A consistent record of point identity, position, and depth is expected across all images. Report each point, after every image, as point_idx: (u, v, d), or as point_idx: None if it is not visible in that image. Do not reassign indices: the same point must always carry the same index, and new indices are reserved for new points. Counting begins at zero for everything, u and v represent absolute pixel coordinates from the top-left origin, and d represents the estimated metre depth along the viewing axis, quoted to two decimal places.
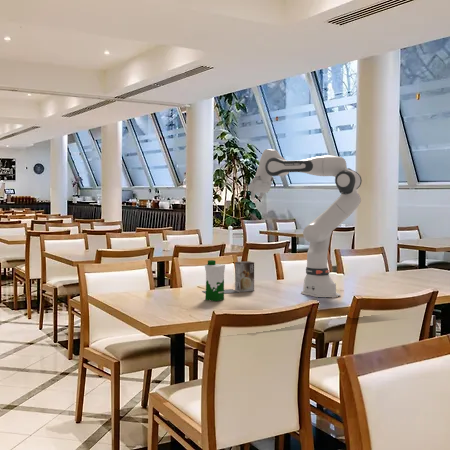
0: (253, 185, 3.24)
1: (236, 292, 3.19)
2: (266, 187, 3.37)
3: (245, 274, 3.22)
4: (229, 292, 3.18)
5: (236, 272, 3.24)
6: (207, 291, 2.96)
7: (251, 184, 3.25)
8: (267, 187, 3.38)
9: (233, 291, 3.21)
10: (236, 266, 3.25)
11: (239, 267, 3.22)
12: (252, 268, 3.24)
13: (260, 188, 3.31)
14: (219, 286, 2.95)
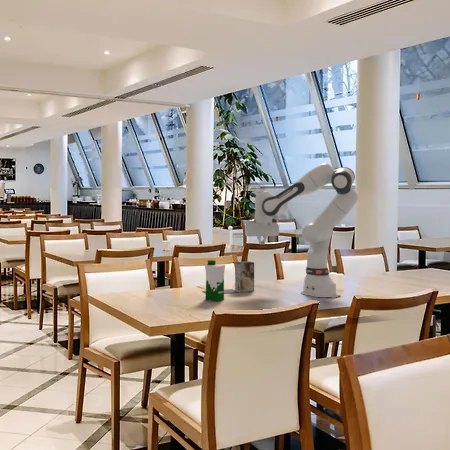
0: (246, 229, 3.24)
1: (236, 292, 3.19)
2: (271, 230, 3.29)
3: (245, 274, 3.22)
4: (229, 292, 3.18)
5: (236, 272, 3.24)
6: (207, 291, 2.96)
7: (245, 229, 3.25)
8: (273, 230, 3.29)
9: (233, 291, 3.21)
10: (236, 266, 3.25)
11: (239, 267, 3.22)
12: (252, 268, 3.24)
13: (260, 231, 3.26)
14: (219, 286, 2.95)
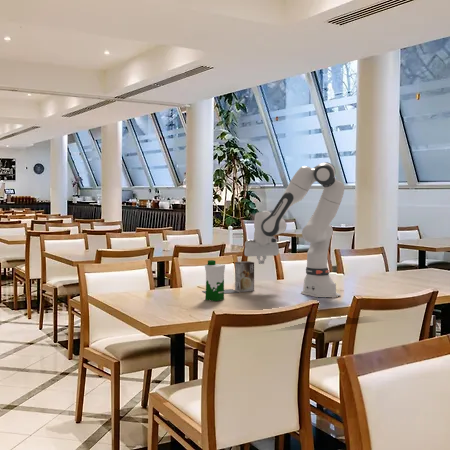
0: (246, 249, 3.25)
1: (236, 292, 3.19)
2: (271, 249, 3.29)
3: (245, 274, 3.22)
4: (229, 292, 3.18)
5: (236, 272, 3.24)
6: (207, 291, 2.96)
7: (245, 249, 3.26)
8: (273, 249, 3.30)
9: (233, 291, 3.21)
10: (236, 266, 3.25)
11: (239, 267, 3.22)
12: (252, 268, 3.24)
13: (260, 251, 3.27)
14: (219, 286, 2.95)
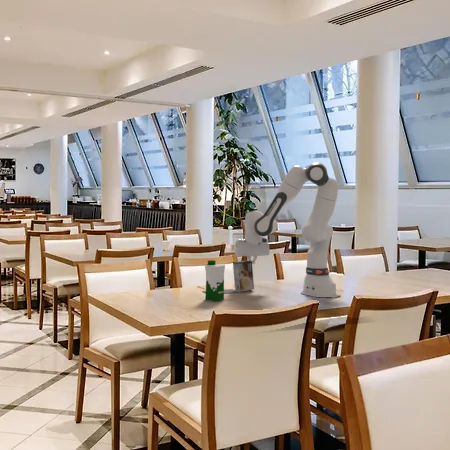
0: (236, 249, 3.22)
1: (236, 292, 3.19)
2: (261, 250, 3.27)
3: (244, 274, 3.22)
4: (229, 292, 3.18)
5: (235, 272, 3.24)
6: (207, 291, 2.96)
7: (235, 249, 3.24)
8: (264, 249, 3.28)
9: (233, 291, 3.21)
10: (234, 266, 3.24)
11: (237, 267, 3.21)
12: (251, 266, 3.24)
13: (250, 251, 3.24)
14: (219, 286, 2.95)
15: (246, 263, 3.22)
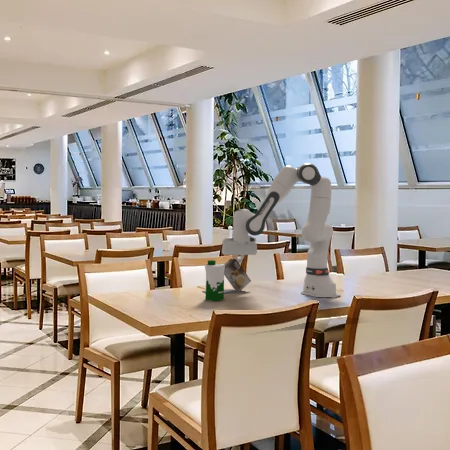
0: (223, 247, 3.20)
1: (236, 292, 3.19)
2: (249, 249, 3.24)
3: (235, 274, 3.20)
4: (229, 292, 3.18)
5: (226, 276, 3.22)
6: (207, 291, 2.96)
7: (222, 247, 3.21)
8: (251, 249, 3.25)
9: (233, 291, 3.21)
10: None
11: (226, 272, 3.19)
12: (237, 264, 3.21)
13: (237, 250, 3.22)
14: (219, 286, 2.95)
15: (232, 264, 3.19)
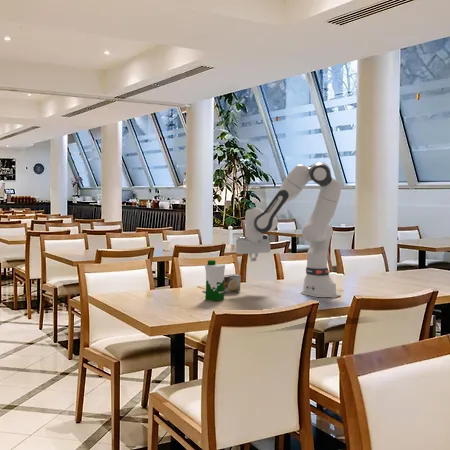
0: (237, 247, 3.22)
1: (236, 292, 3.19)
2: (262, 247, 3.27)
3: (225, 287, 3.17)
4: (229, 292, 3.18)
5: None
6: (207, 291, 2.96)
7: (236, 246, 3.24)
8: (265, 246, 3.28)
9: None
10: None
11: None
12: None
13: (251, 248, 3.24)
14: (219, 286, 2.95)
15: None
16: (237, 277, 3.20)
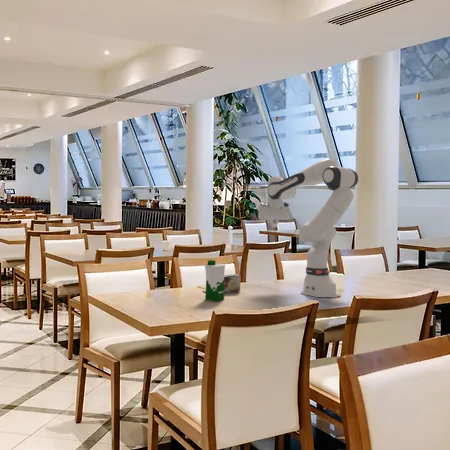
0: (260, 213, 3.41)
1: (236, 292, 3.19)
2: (283, 214, 3.46)
3: (225, 287, 3.17)
4: (229, 292, 3.18)
5: None
6: (207, 291, 2.96)
7: (259, 212, 3.42)
8: (285, 214, 3.46)
9: None
10: None
11: None
12: None
13: (273, 215, 3.43)
14: (219, 286, 2.95)
15: None
16: (237, 277, 3.20)
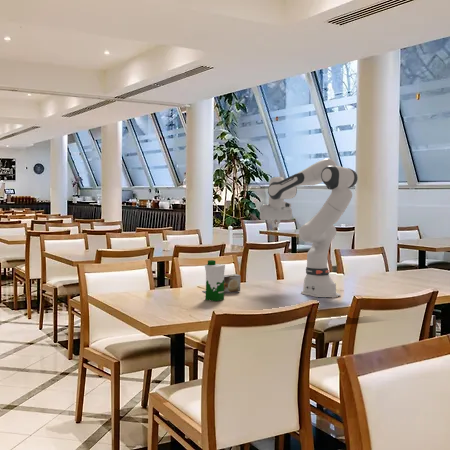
0: (261, 213, 3.42)
1: (236, 292, 3.19)
2: (285, 214, 3.47)
3: (225, 287, 3.17)
4: (229, 292, 3.18)
5: None
6: (207, 291, 2.96)
7: (260, 213, 3.44)
8: (287, 214, 3.48)
9: None
10: None
11: None
12: None
13: (274, 215, 3.44)
14: (219, 286, 2.95)
15: None
16: (237, 277, 3.20)
